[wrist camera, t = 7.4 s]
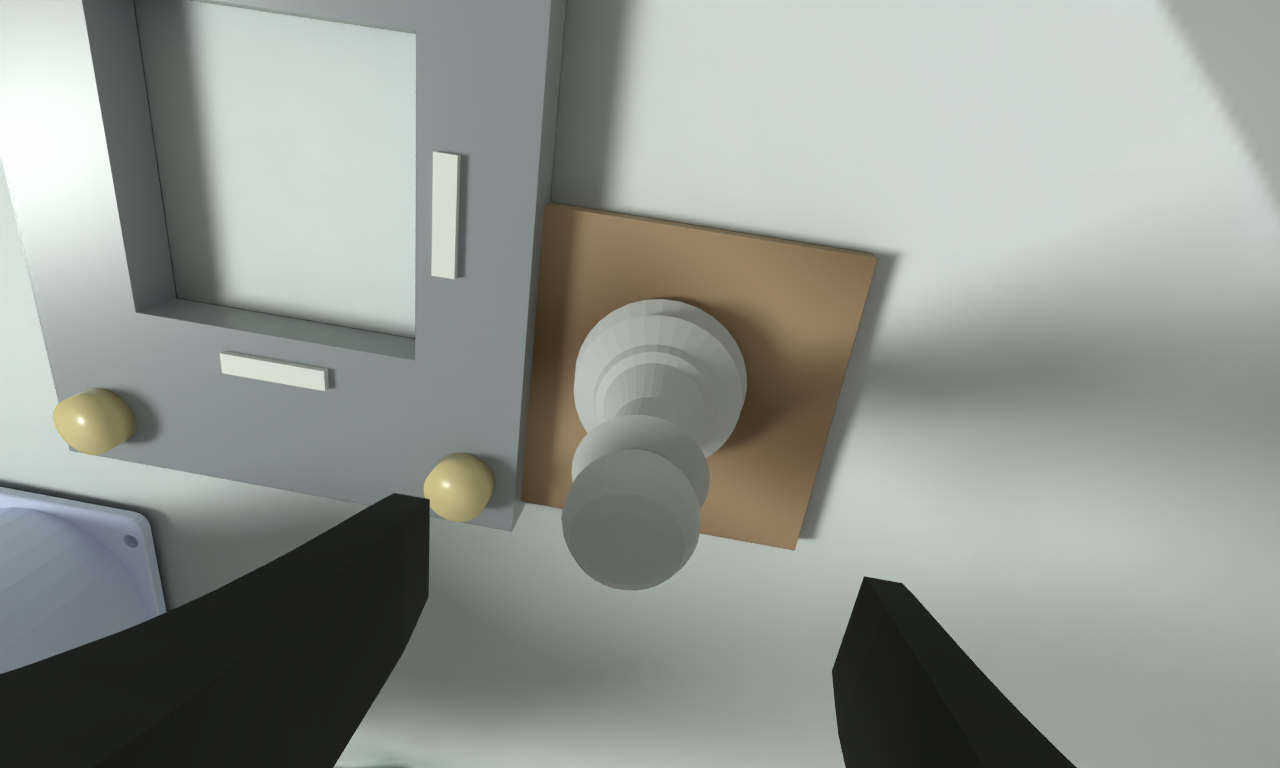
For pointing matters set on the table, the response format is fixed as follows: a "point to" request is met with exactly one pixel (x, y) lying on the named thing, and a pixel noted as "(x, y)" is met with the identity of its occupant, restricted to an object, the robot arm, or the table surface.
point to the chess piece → (648, 438)
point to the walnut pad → (751, 312)
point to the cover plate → (274, 345)
